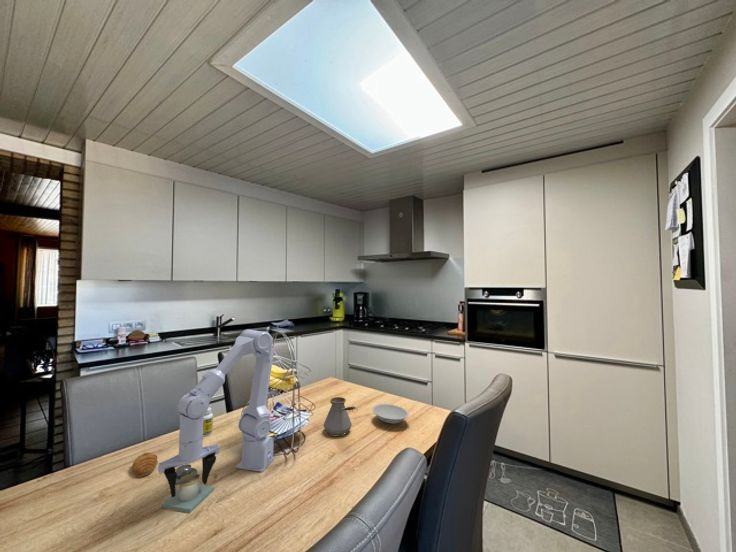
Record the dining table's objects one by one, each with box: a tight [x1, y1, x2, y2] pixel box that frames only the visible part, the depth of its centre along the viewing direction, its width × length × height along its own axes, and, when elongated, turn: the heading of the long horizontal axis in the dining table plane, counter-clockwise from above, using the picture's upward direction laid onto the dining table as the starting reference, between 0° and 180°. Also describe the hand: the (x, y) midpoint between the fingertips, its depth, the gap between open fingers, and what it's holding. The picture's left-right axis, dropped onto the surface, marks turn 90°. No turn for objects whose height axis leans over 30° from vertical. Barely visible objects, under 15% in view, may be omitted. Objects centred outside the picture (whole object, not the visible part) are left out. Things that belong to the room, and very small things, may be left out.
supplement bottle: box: [203, 406, 214, 438], centre depth 120 cm, size 5×5×10 cm
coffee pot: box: [323, 396, 358, 436], centre depth 120 cm, size 21×12×15 cm, turn 29°
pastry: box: [131, 451, 159, 478], centre depth 96 cm, size 9×7×4 cm
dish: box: [372, 403, 409, 425], centre depth 133 cm, size 18×14×5 cm
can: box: [178, 473, 201, 501], centre depth 83 cm, size 5×5×4 cm
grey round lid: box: [175, 463, 199, 485], centre depth 93 cm, size 8×8×2 cm
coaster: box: [160, 484, 215, 514], centre depth 83 cm, size 9×9×1 cm
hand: (189, 488), depth 83 cm, fingers open, 7 cm apart
